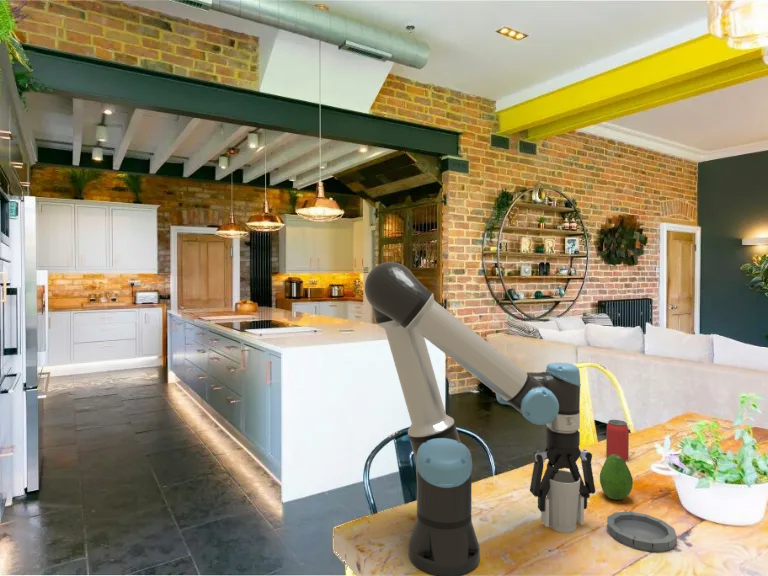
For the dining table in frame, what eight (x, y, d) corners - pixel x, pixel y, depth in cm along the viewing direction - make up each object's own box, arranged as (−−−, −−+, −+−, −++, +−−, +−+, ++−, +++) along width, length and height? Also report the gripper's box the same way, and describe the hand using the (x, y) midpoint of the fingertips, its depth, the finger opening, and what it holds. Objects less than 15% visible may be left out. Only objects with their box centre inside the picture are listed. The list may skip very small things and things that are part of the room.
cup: (583, 536, 112) (583, 484, 112) (546, 532, 114) (547, 481, 114) (576, 519, 120) (577, 471, 120) (542, 516, 122) (543, 468, 122)
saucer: (630, 554, 105) (630, 544, 105) (595, 521, 119) (595, 513, 119) (690, 550, 107) (690, 541, 107) (649, 518, 121) (649, 510, 121)
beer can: (611, 453, 165) (612, 418, 164) (632, 459, 160) (632, 422, 159) (602, 458, 160) (602, 421, 160) (622, 464, 155) (623, 426, 155)
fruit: (632, 495, 133) (632, 451, 133) (633, 507, 126) (633, 461, 126) (599, 490, 137) (600, 447, 136) (599, 502, 129) (599, 457, 129)
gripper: (527, 435, 112) (526, 533, 112) (612, 432, 114) (612, 528, 115) (514, 425, 119) (514, 517, 120) (595, 422, 121) (594, 512, 122)
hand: (562, 522), depth 117 cm, fingers open, 8 cm apart
